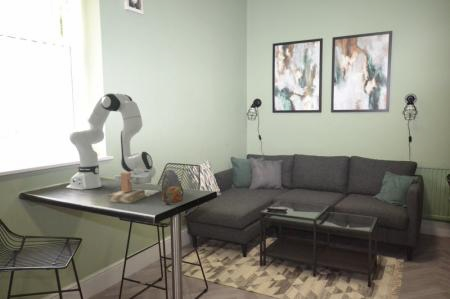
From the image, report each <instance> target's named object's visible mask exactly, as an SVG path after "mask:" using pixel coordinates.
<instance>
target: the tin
mask: <svg viewBox="0 0 450 299" xmlns="http://www.w3.org/2000/svg"><path fill="white" fill-rule="evenodd" d="M181 186H182V185H181ZM181 186H174V187H170V188H167V189H165V190H164V191H163V192H162V201H163V202H164V204H166V205H173V204H175V203H179V202H180V201H182V199H183V198H184V189H183V186H182V187H181ZM172 203H173V204H172Z"/></svg>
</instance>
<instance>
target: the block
mask: <svg viewBox="0 0 450 299" xmlns="http://www.w3.org/2000/svg"><path fill="white" fill-rule="evenodd" d="M131 172H132V171H131ZM131 172H128V171H124V172H120V174H121V182H120V187H121V188H120V189H121V191H130V190H133V189H132V183H129V182H128V180H129V179H131Z"/></svg>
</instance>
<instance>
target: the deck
mask: <svg viewBox="0 0 450 299" xmlns="http://www.w3.org/2000/svg"><path fill="white" fill-rule="evenodd" d="M145 190H146V189H132V190H130V191H121V190H118V191H115V192H112V193H110V194H108V199H109V200H108V201H109V203H125V204H134V203H135V202H137V201H140V200H142V199H143V198H144V199H145V197H146V196H145Z"/></svg>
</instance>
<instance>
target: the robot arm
mask: <svg viewBox="0 0 450 299" xmlns="http://www.w3.org/2000/svg"><path fill="white" fill-rule="evenodd" d="M111 112H118V113H120V114H121V117H122V120H123V121H122V122H123V124H122V125H123V127H122V130H121V131H120V147H121V161H120V162H121V167H122V169H123V170H124V171H125V172H131V179H129V180H128V182H129V183H131V184H132V183H133V184H134V185H141V184H151V183H152V179H153V178H155V176H156V174H157V173H156V172H157V171H156V168H155V166H153V158H152V157H151V155H150V154H149V153H148V152H146V151H141V152H136V153H133V154H131V140H132V138H134V136H136V135H137V134H138V133H139V132H140V131H141V130H142V127H143V119H142V114H141V111H140V109H139V106H138V104H137V103H136V101H134V100H133V98H132V97H131V96H129V95H127V94H123V93H113V92H112V93H111V92H109V93H105V94H103V95H102V94H101V95H100V96H99V97H97V99H96V101H94V103H93V105H92V106H91V108H90V110H89V112H88V114H87V117H86V120H87V122H88V124H87V126H86V127H83V128H76V129H74V130H72V131H71V132H70V134H69V140H70V142H71V144H72V145H73V146H74V147H75V148H76V149H77V152H78V155H79V157H78V158H79V165H80V166H79V167H76V169H77V171H78V172H76V173H75V174H74V175H73V176H71V178H70V180H69V184H68V185H67V186H65V187H66V189H73V190H81V191H82V190H89V189H90V190H91V189H96V188H97V189H98V188H101V187H102V182H101V177H100V166H99V159H98V153H97V152H96V151H95V150H94V148H93V145H96V144H98V143H100V142H103V140H104V139H105V133H104V125H105V123H106V121H107V119H108V117H109V115H110V113H111ZM114 180H115V182H118V183H119V182H120V183H121V173H119V174H116V175H115V176H114Z"/></svg>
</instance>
